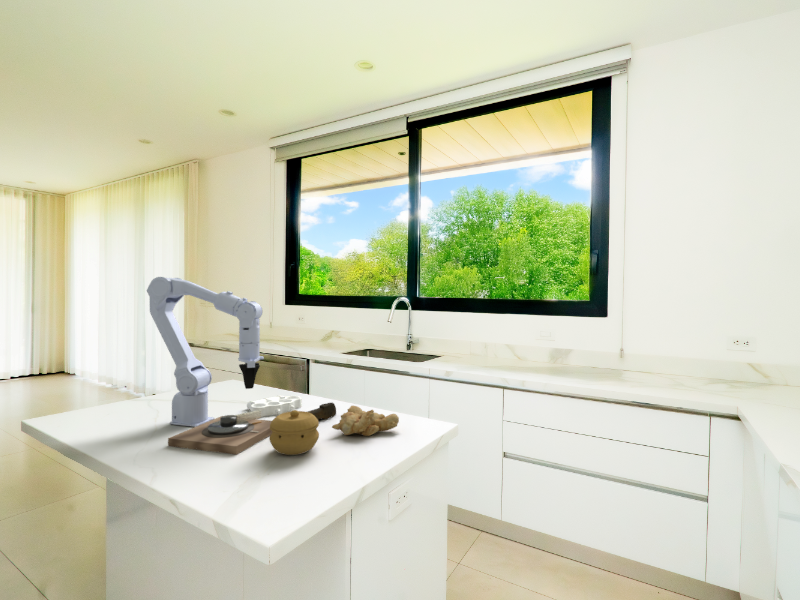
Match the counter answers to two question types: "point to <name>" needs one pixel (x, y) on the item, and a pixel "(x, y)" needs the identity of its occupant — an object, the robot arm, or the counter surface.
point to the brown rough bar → (324, 411)
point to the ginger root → (365, 422)
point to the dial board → (222, 438)
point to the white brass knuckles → (275, 405)
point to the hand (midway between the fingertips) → (249, 388)
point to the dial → (233, 423)
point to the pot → (294, 432)
